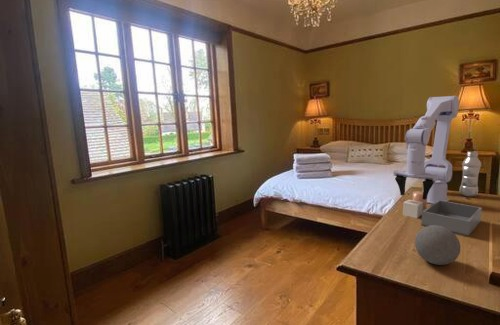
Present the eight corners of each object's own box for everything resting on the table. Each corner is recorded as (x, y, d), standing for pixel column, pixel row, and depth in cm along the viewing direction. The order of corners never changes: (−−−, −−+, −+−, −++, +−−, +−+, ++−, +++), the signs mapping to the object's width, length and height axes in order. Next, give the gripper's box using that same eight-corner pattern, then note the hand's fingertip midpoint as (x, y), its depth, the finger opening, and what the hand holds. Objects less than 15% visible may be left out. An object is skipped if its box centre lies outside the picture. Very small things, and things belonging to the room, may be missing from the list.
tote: (437, 212, 110) (438, 199, 109) (480, 221, 100) (481, 207, 99) (421, 225, 99) (422, 211, 98) (467, 236, 89) (469, 221, 88)
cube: (407, 211, 112) (408, 199, 112) (421, 214, 109) (422, 202, 108) (402, 215, 109) (403, 202, 108) (417, 218, 105) (417, 205, 105)
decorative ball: (468, 269, 72) (472, 231, 70) (435, 275, 70) (438, 237, 68) (435, 250, 81) (438, 217, 80) (405, 255, 79) (407, 222, 78)
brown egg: (414, 207, 117) (415, 190, 116) (428, 209, 113) (429, 192, 112) (409, 210, 114) (410, 193, 112) (423, 213, 110) (425, 195, 109)
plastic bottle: (460, 192, 133) (464, 150, 129) (478, 195, 128) (483, 151, 124) (457, 196, 128) (461, 152, 125) (476, 199, 123) (481, 153, 120)
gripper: (390, 160, 108) (389, 195, 110) (434, 165, 97) (431, 203, 100) (398, 158, 113) (396, 191, 115) (441, 162, 102) (438, 198, 104)
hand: (413, 196), depth 108 cm, fingers open, 7 cm apart
